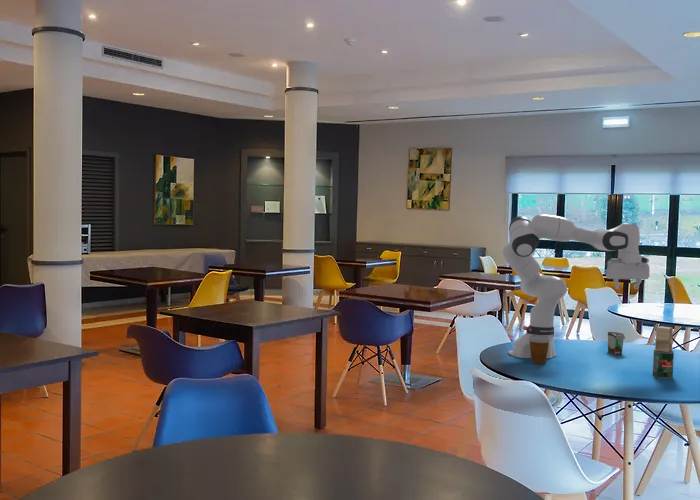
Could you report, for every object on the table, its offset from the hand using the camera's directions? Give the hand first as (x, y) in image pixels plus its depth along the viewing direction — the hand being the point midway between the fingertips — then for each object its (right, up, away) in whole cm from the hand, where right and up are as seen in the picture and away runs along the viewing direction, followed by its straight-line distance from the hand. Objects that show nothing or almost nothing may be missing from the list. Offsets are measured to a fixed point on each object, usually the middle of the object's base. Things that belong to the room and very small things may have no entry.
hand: (627, 288), depth 316 cm
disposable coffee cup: (-40, -34, +2) cm, 53 cm away
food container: (+7, -34, +30) cm, 46 cm away
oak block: (+7, -25, -21) cm, 33 cm away
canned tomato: (+7, -36, -21) cm, 42 cm away
